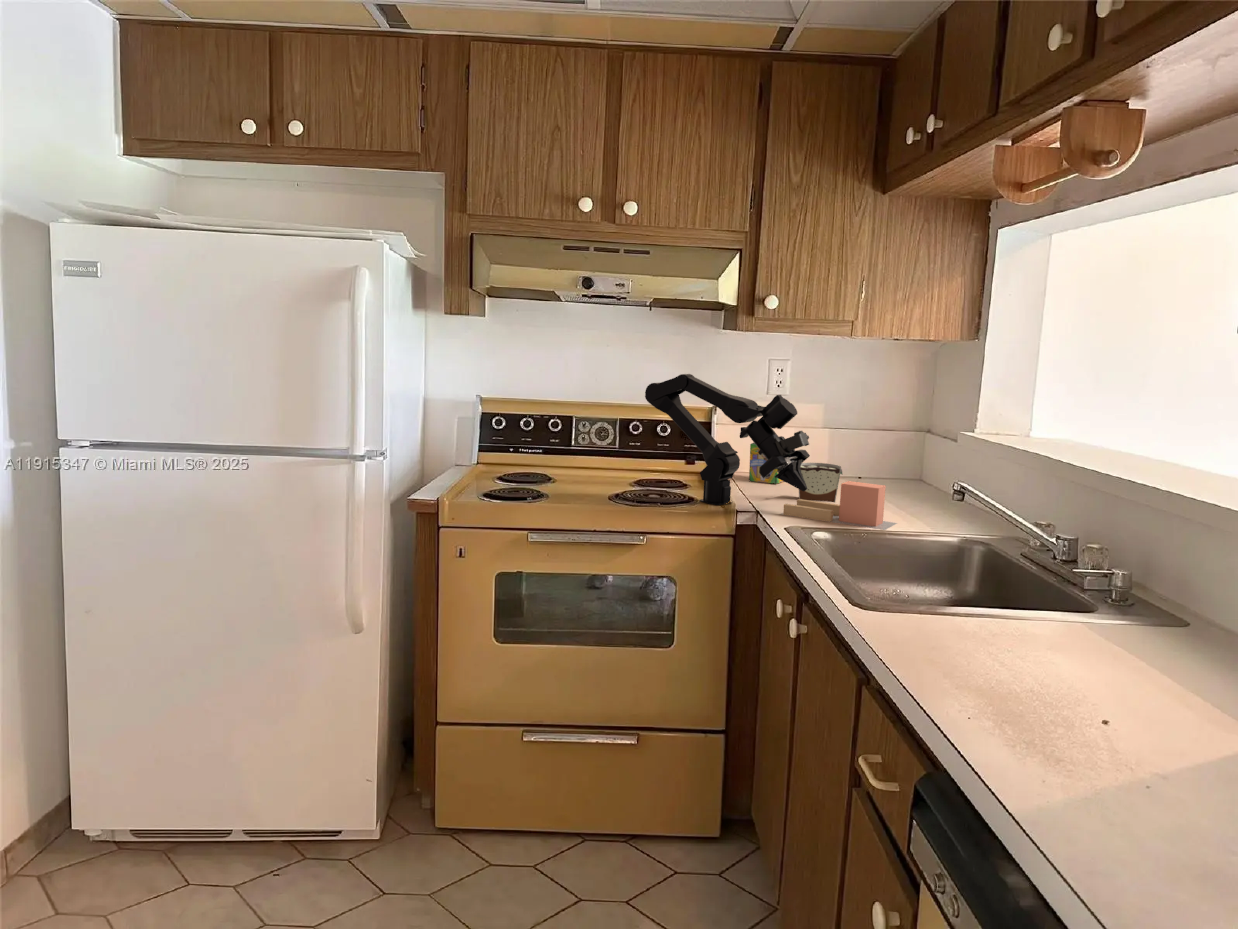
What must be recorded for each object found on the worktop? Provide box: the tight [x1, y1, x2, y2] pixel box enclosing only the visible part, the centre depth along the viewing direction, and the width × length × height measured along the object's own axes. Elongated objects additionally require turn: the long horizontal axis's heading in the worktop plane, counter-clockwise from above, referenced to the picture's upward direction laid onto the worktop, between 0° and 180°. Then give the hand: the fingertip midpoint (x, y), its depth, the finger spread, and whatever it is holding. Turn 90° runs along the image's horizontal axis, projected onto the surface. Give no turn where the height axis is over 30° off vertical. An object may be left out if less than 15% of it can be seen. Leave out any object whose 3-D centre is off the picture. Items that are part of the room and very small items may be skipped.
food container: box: [798, 462, 843, 503], centre depth 242 cm, size 12×6×10 cm, turn 84°
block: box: [839, 480, 887, 526], centre depth 213 cm, size 9×5×9 cm, turn 56°
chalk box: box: [748, 442, 784, 485], centre depth 271 cm, size 9×9×15 cm
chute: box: [780, 498, 898, 531], centre depth 217 cm, size 26×10×3 cm, turn 56°
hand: (805, 490), depth 221 cm, fingers closed
